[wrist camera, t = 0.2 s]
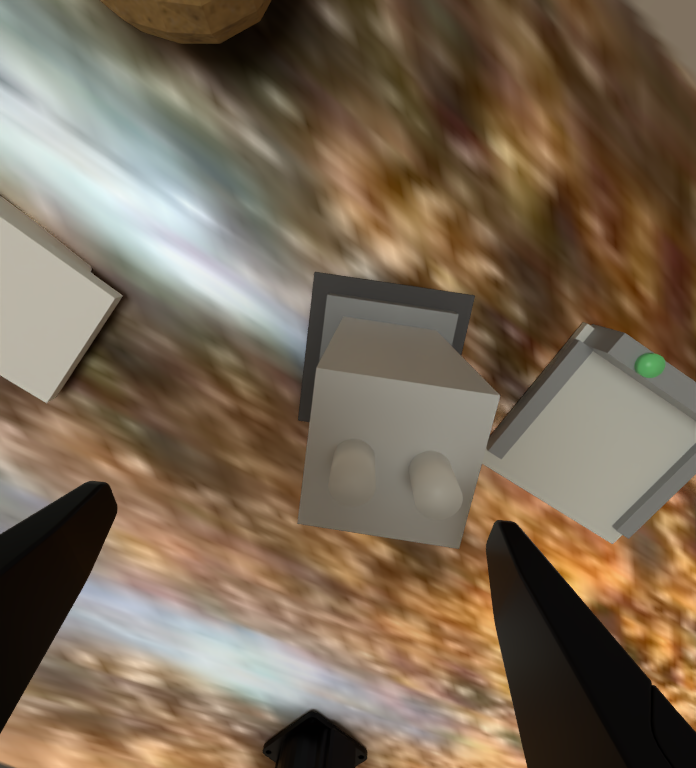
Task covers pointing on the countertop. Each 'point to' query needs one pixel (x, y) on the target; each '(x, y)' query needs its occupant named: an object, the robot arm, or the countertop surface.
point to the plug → (394, 424)
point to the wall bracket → (45, 305)
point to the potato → (190, 18)
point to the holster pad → (378, 292)
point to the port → (601, 433)
